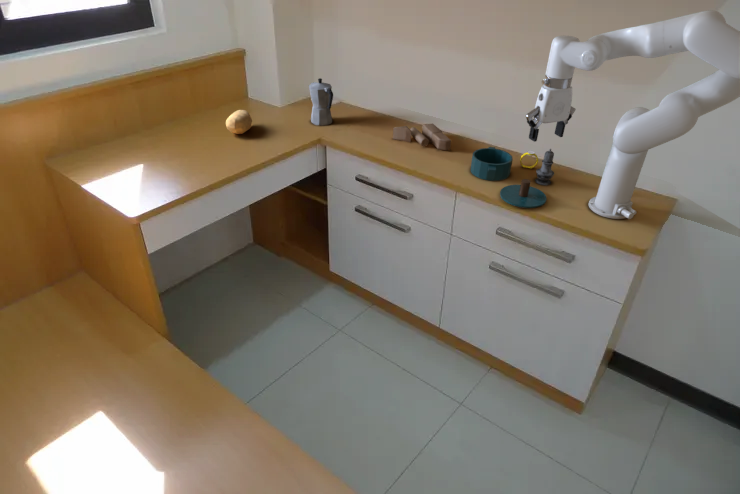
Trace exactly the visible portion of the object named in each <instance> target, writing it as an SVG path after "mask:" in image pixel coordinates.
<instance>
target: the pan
mask: <svg viewBox="0 0 740 494" xmlns="http://www.w3.org/2000/svg"><path fill="white" fill-rule="evenodd" d="M513 159H514V157H513V155H512V154H510V152H507V151H506V150H504V149H501V148H500V149H499V148H496V146H495V147H494V146H488V147H484V148H483V147H482V148H479V149H476V150H474V151H473V152H472V155H471V163H470V173H471V174H472V176H474V177H476V178H478V179H481V180H485V181H491V182H497V181H503V180H506V179H508V178H509V177H510V175H511V170H512V165H513V161H514V160H513Z"/></svg>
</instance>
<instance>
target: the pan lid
mask: <svg viewBox="0 0 740 494" xmlns="http://www.w3.org/2000/svg"><path fill="white" fill-rule="evenodd" d="M520 181H521V182H520V184H510V185H506V186H503V187H502V188H501V189H500V192H499V197H500V198H501V200H503V202H505V203H506V204H508V205H511V206H514V207H517V208H522V209H535V208H540V207H543V206H544V205H545V204H546V203H547V200H548V199H547V198H548V197H547V195H546V194H545V193H544V191H542V190H541V189H539V188H537V187H534V186H531V184H532V181H531V179H528V178H523V179H521V180H520Z"/></svg>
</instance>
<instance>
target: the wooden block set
mask: <svg viewBox="0 0 740 494" xmlns="http://www.w3.org/2000/svg"><path fill="white" fill-rule="evenodd" d="M412 138H414V140H415V141H416V142H417V143H419V145H420V146H421V147H426V146H428V145H429V143H430V144H433V146H435V147H436V148H437V149H438V150H442V151H450V150H451V146H452V145H451V144H452V140H451V139H450V138H449V137H448V136H447V135H446V134H444V132H443V131H442V130H441V129H440V128H439V127H437V125H436V124H434V123H425V124H422V127H421V131H420V130H418V128H416V127H414V126H412V127H411V128H410V127H408V126H407V125H403V126H394V127H393V128H392V140H395V141H402V142H407V143H411V139H412Z"/></svg>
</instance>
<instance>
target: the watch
mask: <svg viewBox="0 0 740 494" xmlns="http://www.w3.org/2000/svg"><path fill="white" fill-rule="evenodd" d="M527 155H528V156H531V157H532V156H534V157H535V158H536V161H535V163H534V164H532V165H531V166H530V165H524V164H523V162H522V161H523V158H524V157H526V156H527ZM519 163H520V166H521V167H522V168H524V169H530V170H532V169H534V168H536V166H537V165H538V164H539V157H538V155H537V154H536V152H535V151H533V150H526V152H524V153H523V154H522V155H520V158H519Z"/></svg>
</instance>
